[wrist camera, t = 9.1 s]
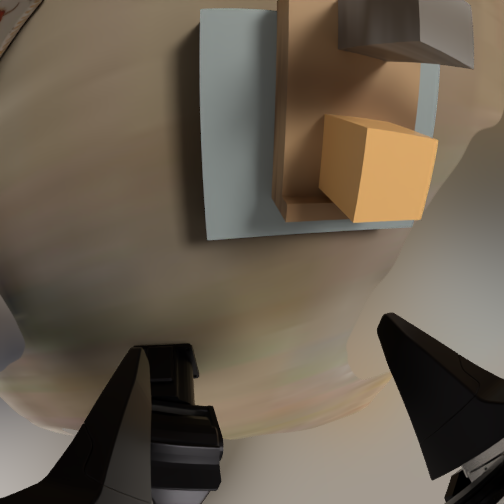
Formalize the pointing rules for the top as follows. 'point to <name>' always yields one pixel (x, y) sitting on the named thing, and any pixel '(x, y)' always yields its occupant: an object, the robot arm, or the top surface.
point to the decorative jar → (13, 18)
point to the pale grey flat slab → (258, 127)
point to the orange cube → (375, 168)
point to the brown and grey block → (351, 79)
